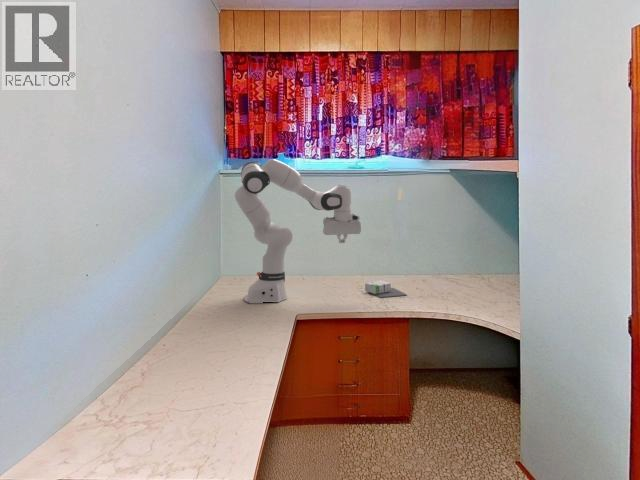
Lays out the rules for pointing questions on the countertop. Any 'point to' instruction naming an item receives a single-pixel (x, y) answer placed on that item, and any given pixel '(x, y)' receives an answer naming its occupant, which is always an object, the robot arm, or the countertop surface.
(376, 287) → the ink box
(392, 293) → the mat
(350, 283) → the countertop surface
